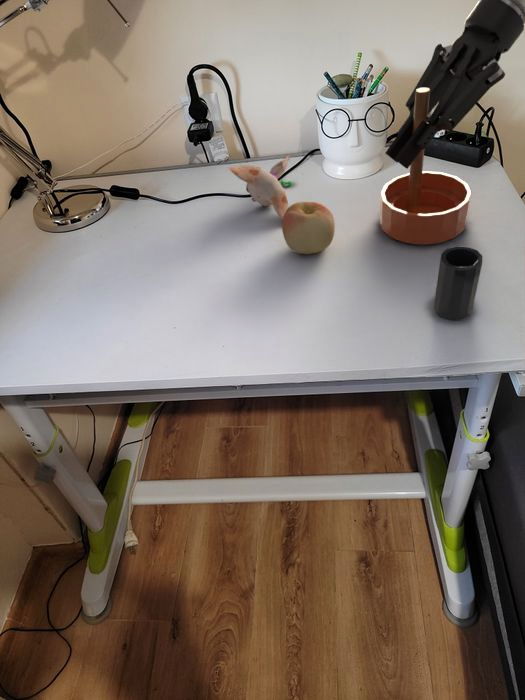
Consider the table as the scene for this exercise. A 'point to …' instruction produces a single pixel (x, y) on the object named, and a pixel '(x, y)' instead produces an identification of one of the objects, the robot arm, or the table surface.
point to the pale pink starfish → (265, 185)
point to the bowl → (425, 209)
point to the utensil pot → (457, 282)
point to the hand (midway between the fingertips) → (396, 160)
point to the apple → (308, 227)
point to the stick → (417, 164)
